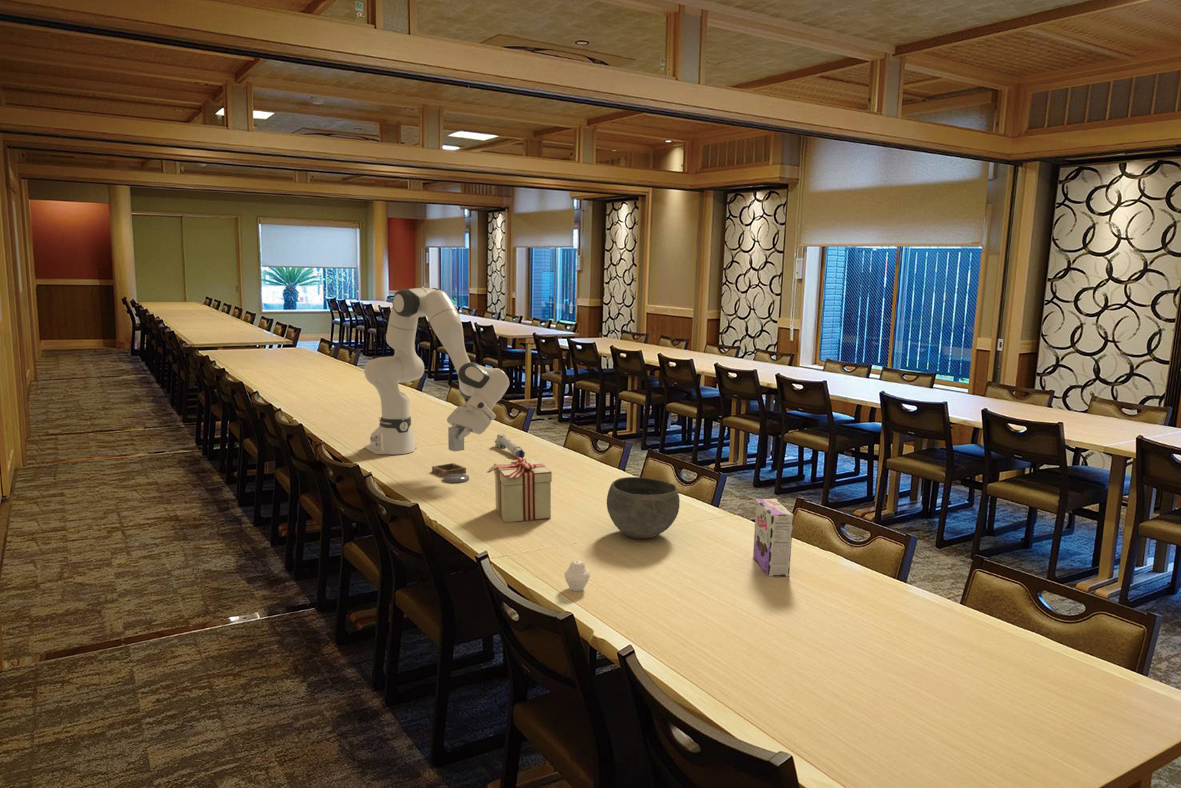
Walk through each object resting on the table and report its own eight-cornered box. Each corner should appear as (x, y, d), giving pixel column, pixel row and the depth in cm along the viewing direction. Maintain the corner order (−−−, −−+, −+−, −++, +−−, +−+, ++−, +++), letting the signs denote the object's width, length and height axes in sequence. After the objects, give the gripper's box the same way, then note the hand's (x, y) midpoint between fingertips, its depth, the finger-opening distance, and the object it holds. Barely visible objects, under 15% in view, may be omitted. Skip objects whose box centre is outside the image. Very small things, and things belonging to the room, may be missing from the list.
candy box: (752, 557, 214) (755, 498, 212) (773, 557, 215) (776, 498, 212) (767, 577, 201) (771, 514, 198) (790, 576, 201) (794, 513, 199)
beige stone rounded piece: (559, 591, 189) (560, 563, 188) (569, 582, 195) (570, 554, 194) (584, 595, 187) (584, 567, 186) (593, 586, 193) (594, 558, 192)
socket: (432, 471, 296) (432, 466, 296) (453, 468, 302) (453, 463, 301) (444, 476, 289) (444, 471, 289) (466, 473, 295) (466, 467, 295)
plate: (438, 479, 286) (438, 476, 285) (459, 475, 292) (459, 472, 292) (453, 484, 279) (453, 481, 279) (474, 480, 286) (474, 477, 286)
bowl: (657, 553, 216) (659, 499, 214) (591, 537, 227) (592, 486, 225) (690, 532, 234) (692, 482, 231) (627, 519, 245) (629, 471, 242)
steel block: (448, 449, 284) (448, 427, 283) (458, 448, 287) (458, 426, 286) (454, 451, 281) (454, 429, 280) (464, 450, 284) (464, 427, 282)
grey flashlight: (514, 450, 317) (493, 429, 338) (513, 466, 319) (492, 444, 340) (526, 449, 319) (505, 429, 341) (525, 464, 321) (504, 443, 342)
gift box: (482, 510, 251) (482, 456, 248) (537, 504, 258) (538, 452, 256) (498, 526, 236) (498, 469, 233) (556, 520, 243) (557, 464, 240)
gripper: (457, 398, 294) (434, 427, 289) (488, 406, 278) (464, 437, 274) (468, 409, 297) (445, 438, 292) (499, 417, 282) (475, 448, 277)
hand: (454, 437), depth 283 cm, fingers closed on steel block, 4 cm apart
